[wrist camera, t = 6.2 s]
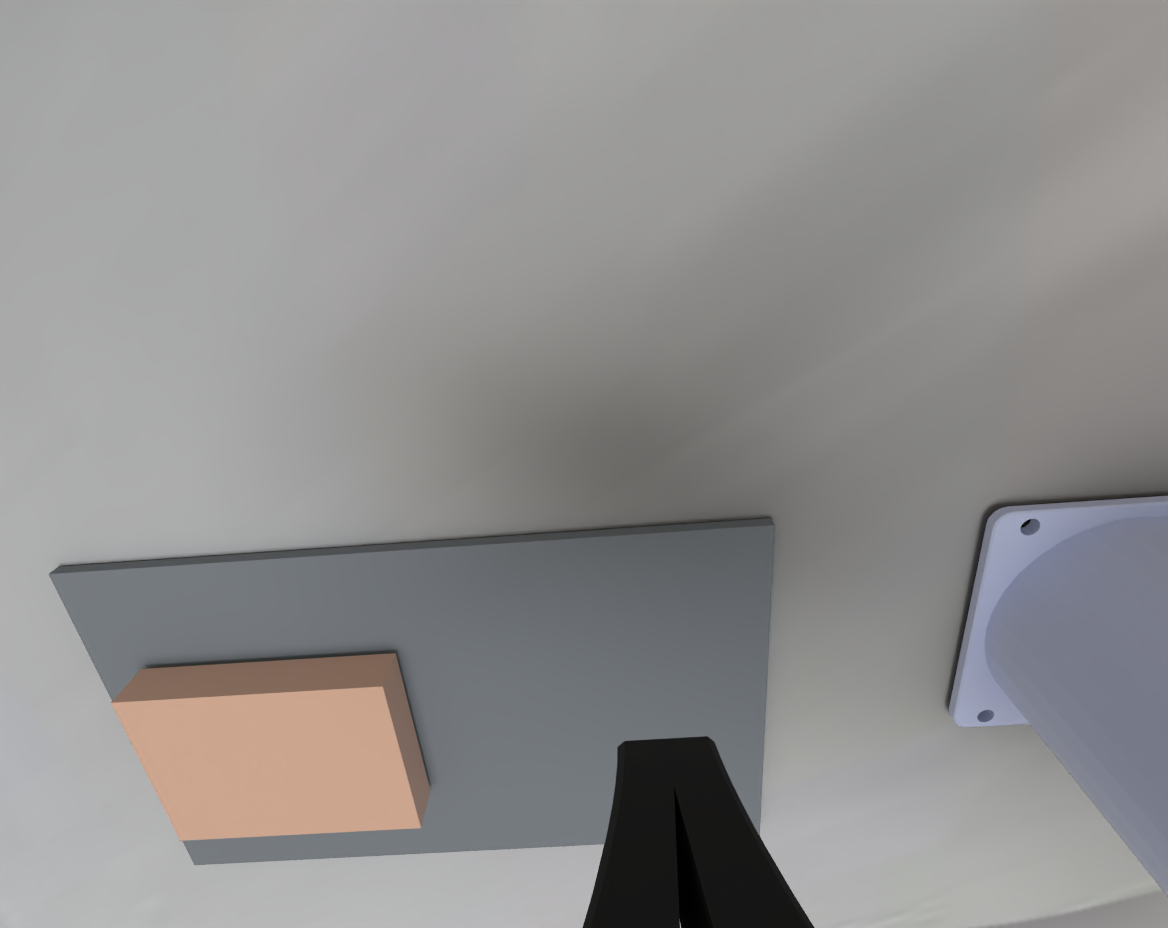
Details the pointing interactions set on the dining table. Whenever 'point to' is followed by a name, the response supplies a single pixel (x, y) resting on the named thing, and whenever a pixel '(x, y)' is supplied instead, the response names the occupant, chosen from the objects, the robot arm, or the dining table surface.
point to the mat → (479, 661)
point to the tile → (278, 746)
